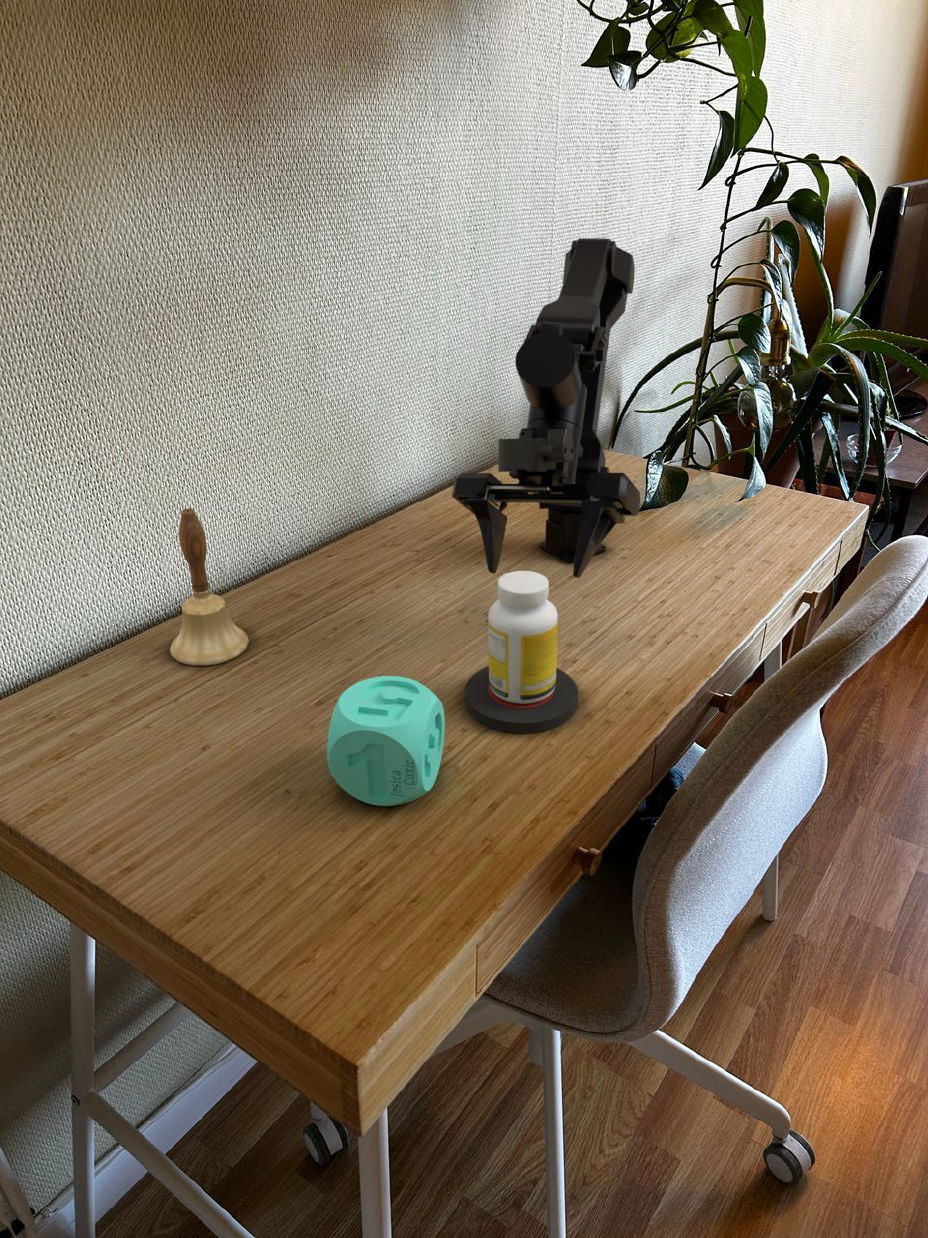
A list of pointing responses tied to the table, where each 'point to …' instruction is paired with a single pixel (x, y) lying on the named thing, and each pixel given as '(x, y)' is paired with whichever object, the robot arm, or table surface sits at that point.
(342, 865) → the table surface
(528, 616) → the pill bottle
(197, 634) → the hand bell
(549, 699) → the disc
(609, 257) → the robot arm
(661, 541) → the table surface
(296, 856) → the table surface
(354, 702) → the decorative dice
